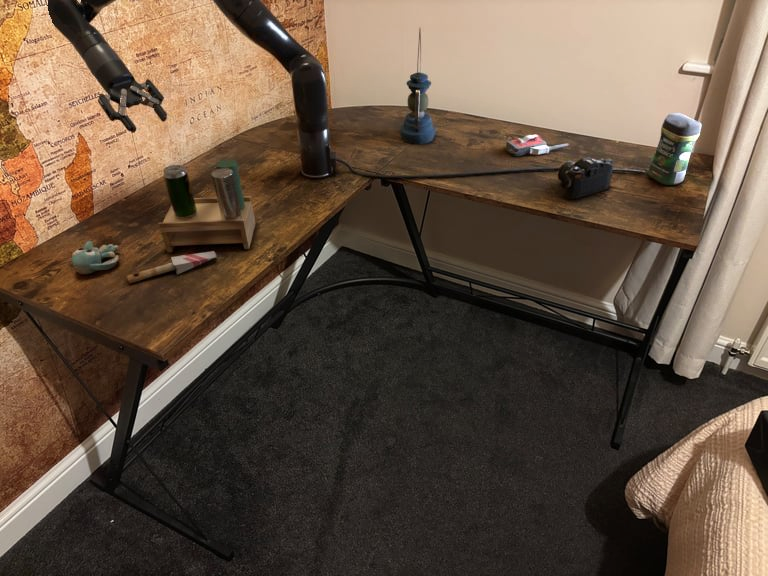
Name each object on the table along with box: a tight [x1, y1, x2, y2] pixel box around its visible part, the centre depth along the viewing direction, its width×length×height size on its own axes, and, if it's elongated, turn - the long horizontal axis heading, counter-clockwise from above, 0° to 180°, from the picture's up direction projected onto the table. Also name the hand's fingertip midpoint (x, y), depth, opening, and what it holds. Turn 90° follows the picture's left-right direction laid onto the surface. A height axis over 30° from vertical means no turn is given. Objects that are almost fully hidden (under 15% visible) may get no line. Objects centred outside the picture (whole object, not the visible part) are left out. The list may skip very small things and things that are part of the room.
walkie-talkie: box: [505, 133, 569, 157], centre depth 177 cm, size 9×4×20 cm
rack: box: [158, 158, 257, 253], centre depth 135 cm, size 20×12×19 cm, turn 93°
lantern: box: [399, 28, 436, 145], centre depth 177 cm, size 14×12×35 cm
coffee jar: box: [647, 112, 702, 186], centre depth 156 cm, size 10×8×19 cm
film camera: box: [557, 156, 615, 200], centre depth 154 cm, size 18×12×10 cm
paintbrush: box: [126, 250, 218, 284], centre depth 128 cm, size 4×3×20 cm
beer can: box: [162, 164, 197, 219], centre depth 132 cm, size 5×5×12 cm
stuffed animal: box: [71, 240, 120, 275], centre depth 130 cm, size 11×7×12 cm
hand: (150, 125), depth 134 cm, fingers open, 8 cm apart
